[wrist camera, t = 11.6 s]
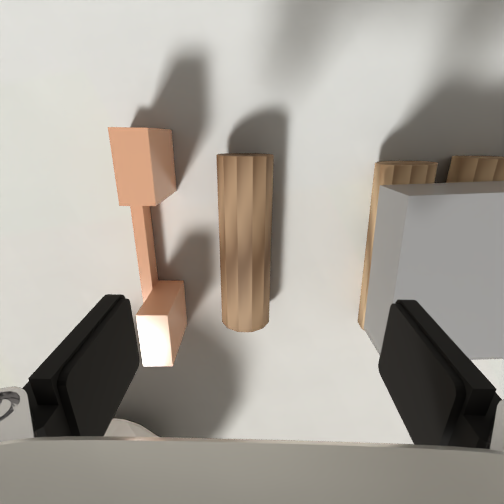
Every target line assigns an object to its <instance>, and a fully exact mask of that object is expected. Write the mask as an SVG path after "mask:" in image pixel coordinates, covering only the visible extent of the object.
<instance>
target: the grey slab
mask: <svg viewBox="0 0 504 504" xmlns="http://www.w3.org/2000/svg"><path fill="white" fill-rule="evenodd" d="M398 299H399V300H416V301H417V302H418V303H419V304H420V305H421V306H422V307H423V308H424V309H425V311H426V312H427V313H428V314H429V315H430V316H431V317H432V318H433V319H434V321H435V322H436V323H437V324H438V325H439V326H440V327H441V328H442V329H443V330H444V332H445V333H446V334H447V335H448V336H449V337H450V338H451V339H452V340H453V342H454V343H455V344H456V345H457V346H458V347H459V348H460V349H461V350H462V352H463V353H464V354H465V355H466V356H467V357H468V358H469V359H470V360H477V359H504V181H480V182H452V183H425V184H397V185H380V188H379V197H378V205H377V214H376V223H375V232H374V241H373V250H372V259H371V268H370V277H369V286H368V295H367V304H366V312H365V321H364V330H365V331H366V333H367V335H368V336H369V338H370V340H371V341H372V343H373V345H374V346H375V348H376V350H377V351H378V353H379V355H380V354H381V349H382V344H383V339H384V334H385V329H386V325H387V320H388V315H389V310H390V306H391V304H393V303H395V302H396V301H397V300H398Z"/></svg>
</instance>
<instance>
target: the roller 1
mask: <svg viewBox="0 0 504 504" xmlns="http://www.w3.org/2000/svg"><path fill="white" fill-rule="evenodd" d="M273 157H274V155H273V154H259V153H226V154H217V180H218V209H219V239H220V268H221V298H222V322H223V323H224V324H225V326H226V327H227V328H229V329H232V330H234V331H237V332H253V331H256V330H259V329H262V328H264V327H265V325H266V324H267V323H268V322H269V297H270V262H271V227H272V192H273Z"/></svg>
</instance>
